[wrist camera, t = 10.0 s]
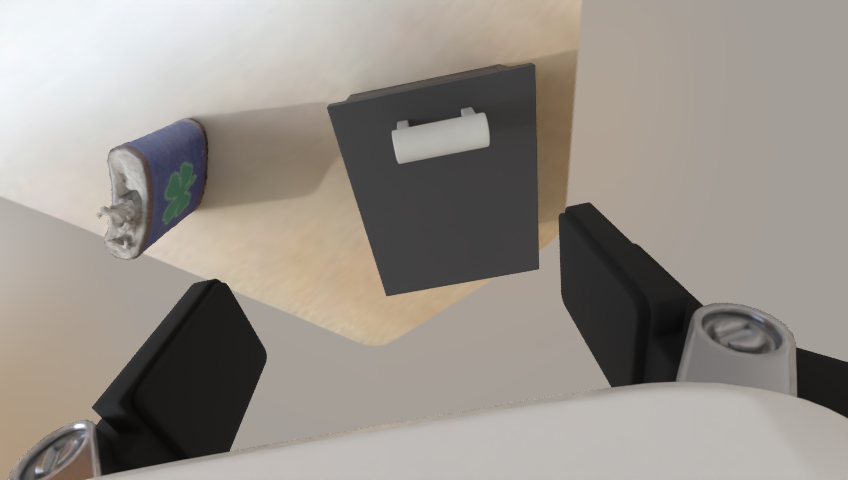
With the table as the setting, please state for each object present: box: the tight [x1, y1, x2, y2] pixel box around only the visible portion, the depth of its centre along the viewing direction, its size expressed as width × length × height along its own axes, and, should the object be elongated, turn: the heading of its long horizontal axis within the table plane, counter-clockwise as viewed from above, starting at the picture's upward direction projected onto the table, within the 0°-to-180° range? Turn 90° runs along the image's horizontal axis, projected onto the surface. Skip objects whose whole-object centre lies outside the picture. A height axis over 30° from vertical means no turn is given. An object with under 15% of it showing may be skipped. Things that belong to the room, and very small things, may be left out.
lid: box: [327, 63, 539, 296], centre depth 25 cm, size 15×13×5 cm
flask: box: [96, 119, 208, 260], centre depth 29 cm, size 9×3×11 cm, turn 157°
